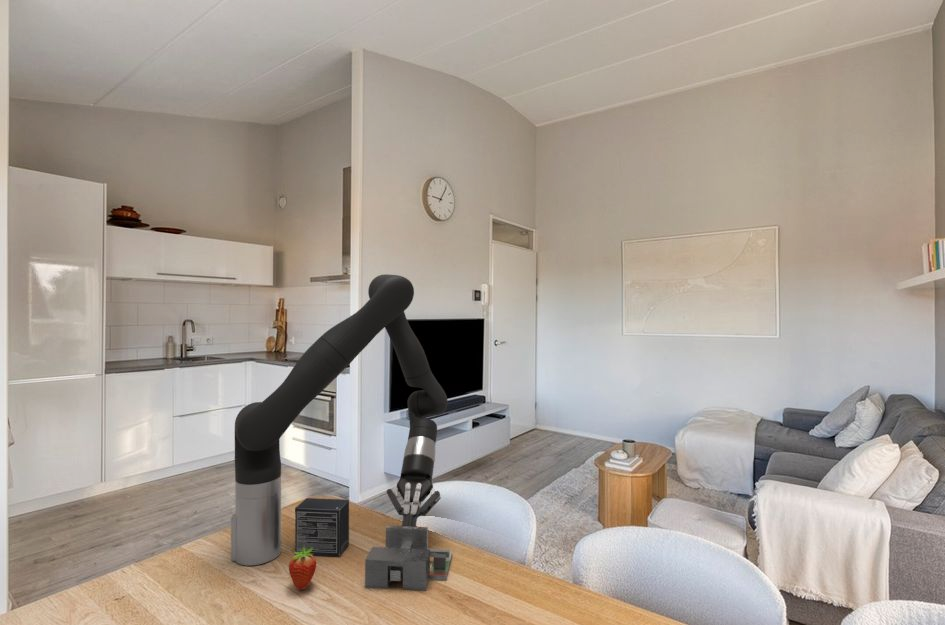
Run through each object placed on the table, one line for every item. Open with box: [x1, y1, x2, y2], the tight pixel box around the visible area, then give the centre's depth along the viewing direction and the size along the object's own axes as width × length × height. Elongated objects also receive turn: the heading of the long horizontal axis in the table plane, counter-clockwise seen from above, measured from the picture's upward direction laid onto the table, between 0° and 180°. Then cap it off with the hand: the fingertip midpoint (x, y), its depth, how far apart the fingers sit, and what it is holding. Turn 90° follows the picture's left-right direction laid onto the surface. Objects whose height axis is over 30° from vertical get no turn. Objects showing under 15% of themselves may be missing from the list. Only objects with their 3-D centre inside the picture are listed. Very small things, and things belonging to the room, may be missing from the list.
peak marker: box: [433, 554, 446, 569], centre depth 99 cm, size 2×2×2 cm, turn 85°
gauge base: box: [364, 546, 453, 592], centre depth 100 cm, size 16×14×6 cm
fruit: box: [288, 546, 317, 591], centre depth 93 cm, size 5×5×8 cm
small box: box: [294, 497, 350, 558], centre depth 108 cm, size 11×6×10 cm, turn 84°
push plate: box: [385, 525, 450, 582], centre depth 98 cm, size 14×11×7 cm
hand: (407, 533), depth 104 cm, fingers closed
